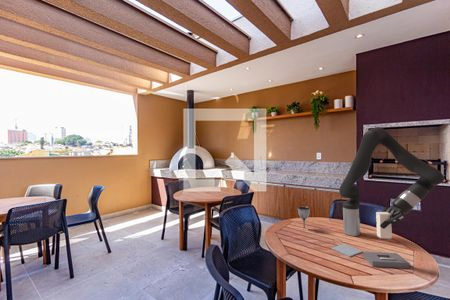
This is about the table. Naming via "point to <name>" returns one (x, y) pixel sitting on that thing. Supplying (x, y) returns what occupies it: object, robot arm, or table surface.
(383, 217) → the tall cream pillar
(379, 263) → the gray slotted base
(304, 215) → the wine glass
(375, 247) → the table surface
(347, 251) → the mat
